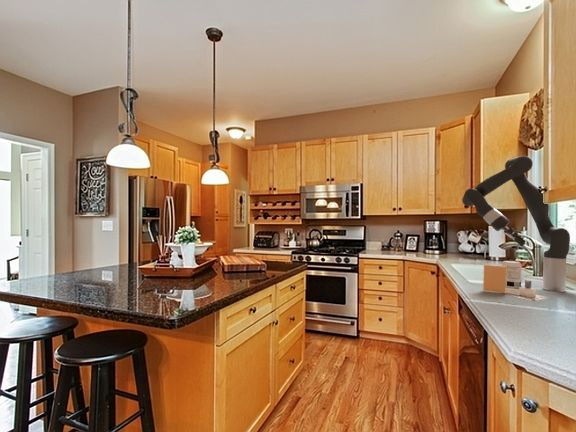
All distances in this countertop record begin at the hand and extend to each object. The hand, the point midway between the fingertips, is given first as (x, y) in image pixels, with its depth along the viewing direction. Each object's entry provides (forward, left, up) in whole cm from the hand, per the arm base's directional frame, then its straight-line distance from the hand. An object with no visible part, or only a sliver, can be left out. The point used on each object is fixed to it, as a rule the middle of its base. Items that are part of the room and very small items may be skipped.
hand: (523, 244), depth 150 cm
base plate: (0, +3, -25) cm, 25 cm away
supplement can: (-7, -9, -25) cm, 28 cm away
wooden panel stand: (+6, -2, -24) cm, 25 cm away
